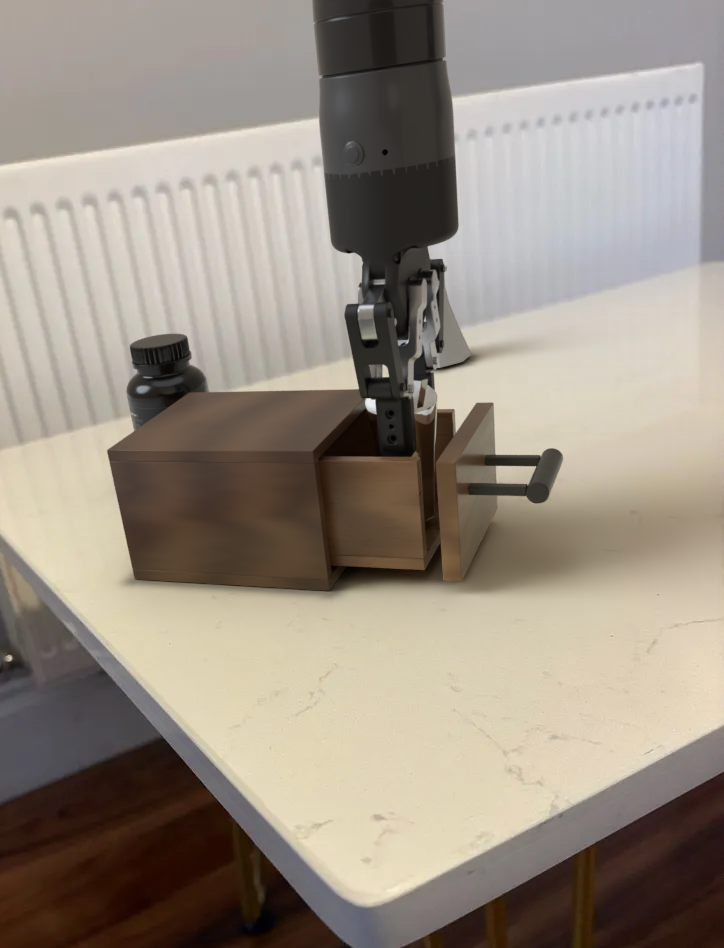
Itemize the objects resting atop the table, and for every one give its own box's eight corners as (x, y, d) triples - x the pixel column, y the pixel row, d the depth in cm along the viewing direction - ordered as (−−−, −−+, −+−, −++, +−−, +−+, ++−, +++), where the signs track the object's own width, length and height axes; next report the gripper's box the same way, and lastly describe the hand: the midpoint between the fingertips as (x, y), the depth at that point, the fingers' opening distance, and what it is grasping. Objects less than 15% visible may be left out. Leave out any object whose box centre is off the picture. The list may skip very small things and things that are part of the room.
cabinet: (384, 514, 77) (373, 388, 72) (329, 591, 67) (312, 451, 62) (209, 508, 82) (189, 392, 78) (134, 579, 72) (106, 450, 68)
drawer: (569, 510, 71) (568, 401, 67) (543, 586, 61) (541, 463, 58) (318, 504, 78) (306, 404, 74) (261, 571, 69) (244, 460, 65)
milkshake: (405, 540, 66) (391, 388, 61) (365, 514, 70) (349, 371, 65) (465, 519, 67) (456, 370, 62) (422, 495, 71) (410, 354, 67)
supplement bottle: (139, 473, 92) (112, 340, 87) (213, 457, 93) (191, 325, 88) (150, 497, 86) (122, 356, 81) (229, 480, 87) (206, 340, 82)
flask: (389, 366, 113) (382, 273, 109) (431, 349, 117) (426, 259, 113) (441, 373, 108) (435, 276, 104) (483, 355, 112) (479, 261, 108)
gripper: (421, 166, 51) (440, 484, 59) (479, 137, 63) (489, 406, 71) (282, 180, 54) (318, 482, 62) (363, 150, 66) (384, 407, 74)
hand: (409, 440), depth 66 cm, fingers closed on milkshake, 4 cm apart
